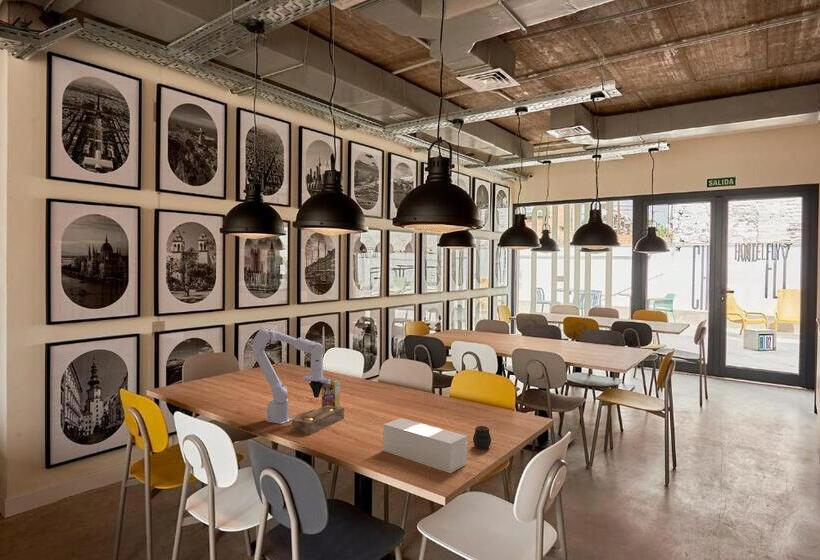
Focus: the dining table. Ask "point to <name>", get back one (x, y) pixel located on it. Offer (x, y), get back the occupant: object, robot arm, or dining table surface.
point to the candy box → (331, 393)
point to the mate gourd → (482, 437)
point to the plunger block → (317, 420)
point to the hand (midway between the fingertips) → (316, 397)
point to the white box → (425, 444)
